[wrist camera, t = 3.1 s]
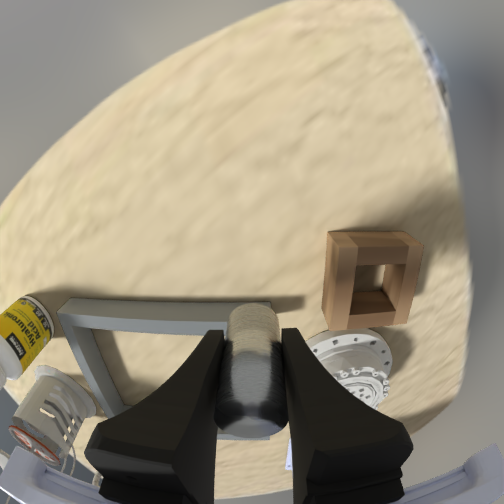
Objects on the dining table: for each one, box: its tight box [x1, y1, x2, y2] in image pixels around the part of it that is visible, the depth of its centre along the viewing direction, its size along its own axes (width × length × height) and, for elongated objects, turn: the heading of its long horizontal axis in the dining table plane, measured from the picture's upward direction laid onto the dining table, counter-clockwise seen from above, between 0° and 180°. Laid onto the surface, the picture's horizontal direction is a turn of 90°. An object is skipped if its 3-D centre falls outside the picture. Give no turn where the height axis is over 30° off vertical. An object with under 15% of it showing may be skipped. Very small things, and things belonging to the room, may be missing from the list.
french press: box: [0, 365, 96, 504], centre depth 16 cm, size 10×12×25 cm
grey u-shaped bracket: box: [56, 298, 271, 440], centre depth 23 cm, size 15×17×2 cm
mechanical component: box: [306, 328, 393, 410], centre depth 22 cm, size 10×4×10 cm
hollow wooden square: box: [322, 231, 424, 331], centre depth 19 cm, size 6×6×3 cm
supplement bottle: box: [0, 296, 54, 390], centre depth 18 cm, size 5×5×10 cm
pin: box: [214, 303, 289, 438], centre depth 11 cm, size 2×2×6 cm
